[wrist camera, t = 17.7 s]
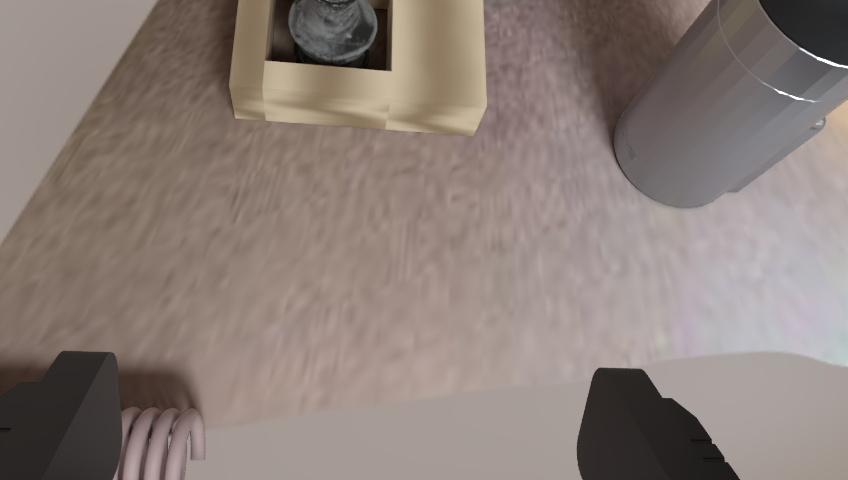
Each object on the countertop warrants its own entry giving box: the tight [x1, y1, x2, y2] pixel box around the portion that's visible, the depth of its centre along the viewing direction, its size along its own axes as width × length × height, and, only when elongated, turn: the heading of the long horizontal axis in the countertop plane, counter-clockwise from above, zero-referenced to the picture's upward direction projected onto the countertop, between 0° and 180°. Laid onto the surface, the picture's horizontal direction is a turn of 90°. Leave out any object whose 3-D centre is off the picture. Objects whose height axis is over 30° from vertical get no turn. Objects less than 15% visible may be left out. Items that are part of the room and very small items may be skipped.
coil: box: [113, 407, 205, 480], centre depth 37 cm, size 5×5×18 cm
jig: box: [229, 0, 487, 136], centre depth 49 cm, size 16×13×4 cm
